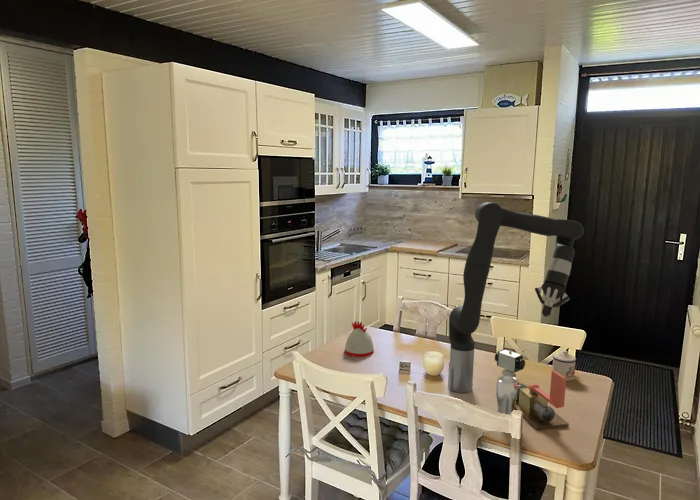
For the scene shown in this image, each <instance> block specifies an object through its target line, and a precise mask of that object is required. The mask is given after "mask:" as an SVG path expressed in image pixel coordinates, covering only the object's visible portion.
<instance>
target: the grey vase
mask: <svg viewBox="0 0 700 500" xmlns="http://www.w3.org/2000/svg"><path fill="white" fill-rule="evenodd" d="M518 385H519V384H518V379H517V378H516V377H515V378H513V377H510V376H504V375H500V376H498V377H497V382H496V392H495V393H496V395H495V396H496V402H497V412H500V413H505V414H511V412H512V411H513V410H514V411H515V409H514V407H515V403H516V399H517V392H518Z"/></svg>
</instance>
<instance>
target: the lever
mask: <svg viewBox="0 0 700 500" xmlns="http://www.w3.org/2000/svg"><path fill="white" fill-rule="evenodd" d="M550 378H551V379H550V387H549V388H550V390H549V392H546V390H544V389H542V388H541V386H540V385H539V384H538V383H537V384H536V383H529V384H528V388H529V390H530V391H533V392H536V393H537V394H539V395H540V396H541V397H543V398H544V399H545V400H546V401H548V403H549V404H550V405H552V407H554V408H555V409H559V408H561V409H562V408H564V407H565V398H566V386H567V381H566V377H564V376H563V375H561V374H559V373H558V372H556V371H552V370H551V376H550Z"/></svg>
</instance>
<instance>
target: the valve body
mask: <svg viewBox="0 0 700 500" xmlns="http://www.w3.org/2000/svg"><path fill="white" fill-rule="evenodd" d="M517 385H518V392H517V399H516V403H515V407H514V411H516V410H520V411H522V412H523V417H522V418H523V419H524V420H525V421H526V422H527V423H529V425H530V426H532V427H533V428H534V429H535V430H536V431H539V430H550V429H552V430H553V429H559V428H560V429H563V428H569V426H570V423H569V422H568V421H566V420H565V419H564V418H563V417H562V416H560V415H559V413H557V412H555V410H554V408H552V406H549V405H548V403H549V402H548V401H546V400H545V399H544V398H543V397H541V396H540V395H539V394H537V393H536V392H533V391H530V390H529V387H527V386H525V385H524V384H522V383H521V384H517Z"/></svg>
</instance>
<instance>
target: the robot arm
mask: <svg viewBox="0 0 700 500" xmlns="http://www.w3.org/2000/svg"><path fill="white" fill-rule="evenodd" d="M474 212H475V213H474V215H475V216H474V217H475V220H476V221H477V229H476V234H475V237H474V238H475V239H474V241H473V243H472V245H471V247H470V250H469V252H468V254H467V257H466V260H465V263H464V264H465V265H464V267H463V274H462V275H463V278H462V279H463V287H464V299H463V303H462V305H457V306H455V307H454V308H452V310H451V312H450V314H449V316H448V317H449V318H448V337H449V338H448V339H449V342H450V350H449V351H450V352H449V354H450V355H449V362H448V375H447V376H448V377H447V378H448V380H447V385H448V389H449V391H451V392H454V393H460V394H468V393H470V392H472V391H473V386H474V382H473V380H474V361H475V360H474V359H475V340H474V339H473V336H472V334H473V333H474V332H476V330H477V329H478V327H479V325H480V321H481V320H480V319H481V313H482V305H483V298H484V293H485V290H486V285H487V280H488V277H489V273H490V270H491V264H492V260H493V259H492V258H493V254H494V248H495V242H496V239H497V235H498V234H499V233H498V232H499V231H500V230H499V229H500V227H507V228H513V229H516V230H520V231H524V232H526V233H531V234H536V235H540V236H545V237H552V236H553V237H555V238H556V239H555V248H554V252H553V255H552V258H551V260H550V262H549V266H548V269H547V270H546V271H547V272H546V275H545V277H544V278H545V279H544V282H542V284H541V286H539V287H535V288H534V291H535V293H536V296H537V298H538V299H539V301H540V303H541V304H542V305H543V307H542V311H541V314H542V316H543V317H545V318H548V317H550V316H551V313H552V310H553V308H559V307H561V306H562V305H563V304H565V303H567V302H568V301H569V300H570V297H569V295H568V294H567V291H566V286H567V283H568V280H569V277H570V275H571V270H572V263H573V261H574V257H575V254H576V253H575V252H576V251H575V249H574V243H575V240H579V239H580V238H582V236H583V235H584V233H585V227H584V226H583V225H582V223H581V222H579V221H577V220H571V219H561V218H560V219H559V218H553V217H547V216H543V215H538V214H534V213H533V214H531V213H525V212H520V211H519V212H518V211H512V210H509V209H505V208H503V207H501V205H500V204H498V203H496V202H492V201H491V202H490V201H489V202H488V201H487V202H483V203H480V204H479V205H478V207H476V209H475V211H474ZM542 293H543V295H544V296H545V299H543V297H542V295H541V294H542ZM560 298H561V299H560ZM558 299H560V300H559V301H557V302H556V300H558Z"/></svg>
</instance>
